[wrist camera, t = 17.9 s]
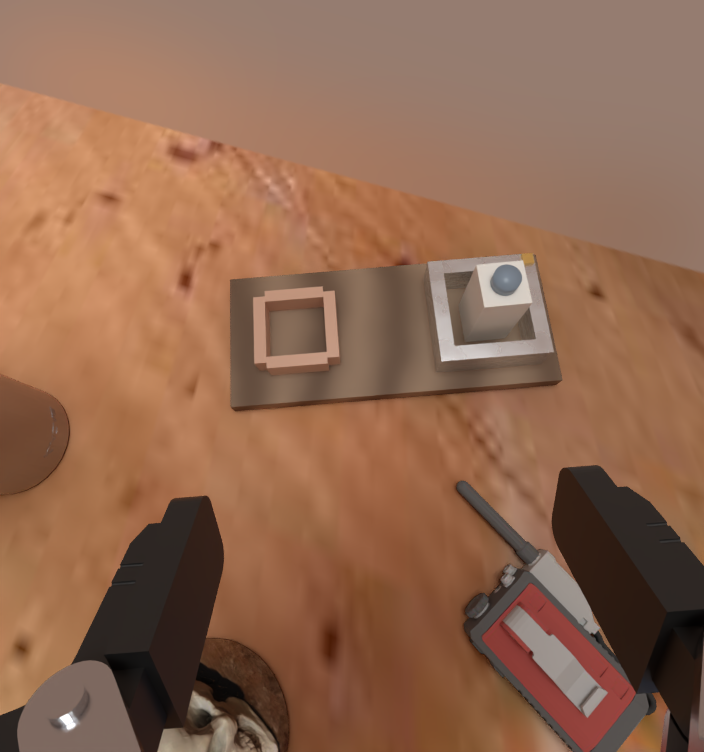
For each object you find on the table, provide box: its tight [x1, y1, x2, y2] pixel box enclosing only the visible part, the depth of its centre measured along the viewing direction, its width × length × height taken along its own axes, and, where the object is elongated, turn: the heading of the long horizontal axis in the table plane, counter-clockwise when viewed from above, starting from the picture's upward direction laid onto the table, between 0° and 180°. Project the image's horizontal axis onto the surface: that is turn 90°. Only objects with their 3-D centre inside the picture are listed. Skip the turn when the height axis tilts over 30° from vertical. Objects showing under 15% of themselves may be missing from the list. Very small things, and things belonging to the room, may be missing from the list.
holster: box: [253, 286, 341, 375], centre depth 40 cm, size 7×7×2 cm
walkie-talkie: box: [457, 481, 656, 752], centre depth 34 cm, size 9×4×20 cm
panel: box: [230, 255, 562, 411], centre depth 42 cm, size 28×12×2 cm, turn 94°
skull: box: [157, 638, 289, 752], centre depth 33 cm, size 12×10×10 cm
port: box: [424, 253, 554, 373], centre depth 40 cm, size 9×9×3 cm
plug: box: [459, 260, 532, 342], centre depth 38 cm, size 4×4×8 cm
